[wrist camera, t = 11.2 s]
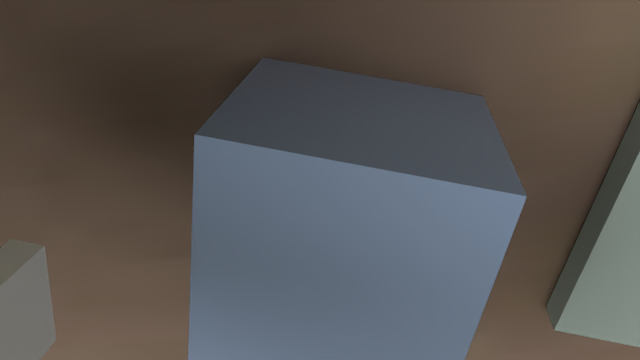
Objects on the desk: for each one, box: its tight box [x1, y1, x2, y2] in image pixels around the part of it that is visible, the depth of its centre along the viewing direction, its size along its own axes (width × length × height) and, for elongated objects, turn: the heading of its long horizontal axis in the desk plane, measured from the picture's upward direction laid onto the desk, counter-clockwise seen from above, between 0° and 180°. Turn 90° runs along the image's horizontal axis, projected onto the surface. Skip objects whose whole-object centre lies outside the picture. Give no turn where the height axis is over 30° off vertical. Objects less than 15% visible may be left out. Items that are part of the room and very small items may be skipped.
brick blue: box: [188, 57, 527, 360], centre depth 15 cm, size 7×7×6 cm
